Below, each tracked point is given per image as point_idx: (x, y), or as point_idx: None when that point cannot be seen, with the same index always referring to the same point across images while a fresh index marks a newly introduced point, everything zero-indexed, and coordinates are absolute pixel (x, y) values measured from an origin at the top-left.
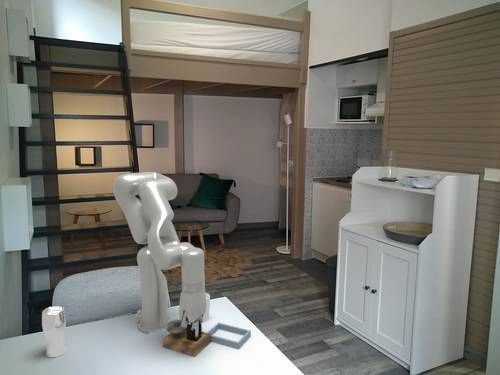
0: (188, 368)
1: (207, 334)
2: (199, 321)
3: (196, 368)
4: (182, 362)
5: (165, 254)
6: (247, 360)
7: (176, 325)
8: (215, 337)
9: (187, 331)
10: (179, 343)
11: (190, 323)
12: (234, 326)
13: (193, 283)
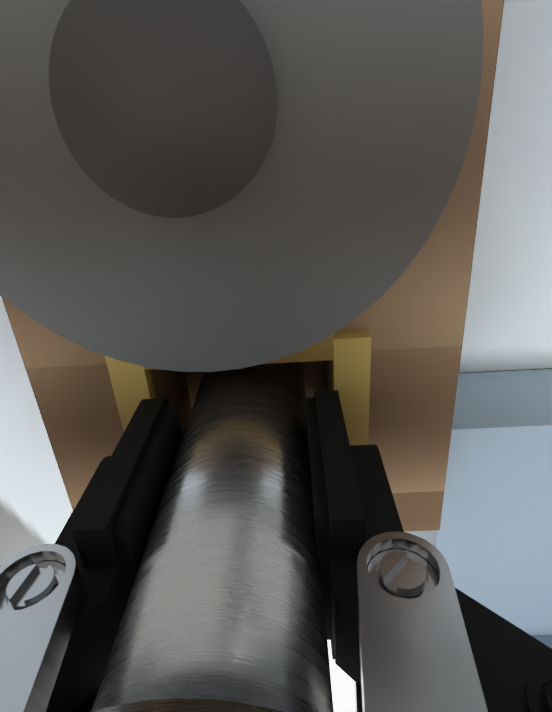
0: (6, 477)
1: (411, 507)
2: (355, 696)
3: (52, 520)
4: (25, 392)
5: None
6: (332, 697)
7: (81, 160)
8: (435, 542)
9: (65, 532)
10: (28, 346)
11: (103, 680)
12: None
13: None
